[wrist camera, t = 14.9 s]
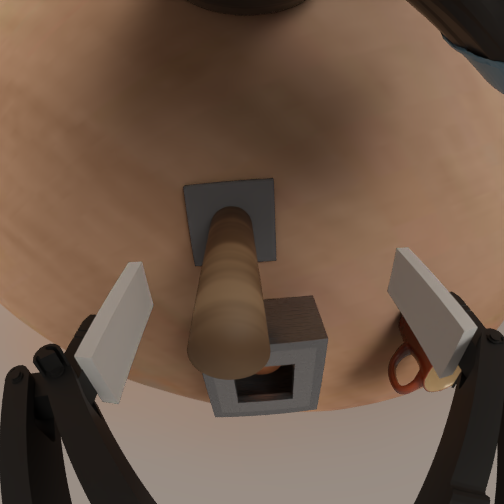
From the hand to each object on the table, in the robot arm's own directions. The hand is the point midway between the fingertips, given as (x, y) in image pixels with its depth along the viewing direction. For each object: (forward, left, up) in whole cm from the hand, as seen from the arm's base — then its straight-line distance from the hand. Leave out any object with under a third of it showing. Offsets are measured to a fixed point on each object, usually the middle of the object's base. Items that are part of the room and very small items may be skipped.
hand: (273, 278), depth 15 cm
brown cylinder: (+2, -3, -13) cm, 14 cm away
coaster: (+2, -3, -14) cm, 14 cm away
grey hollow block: (+17, -1, -14) cm, 22 cm away
